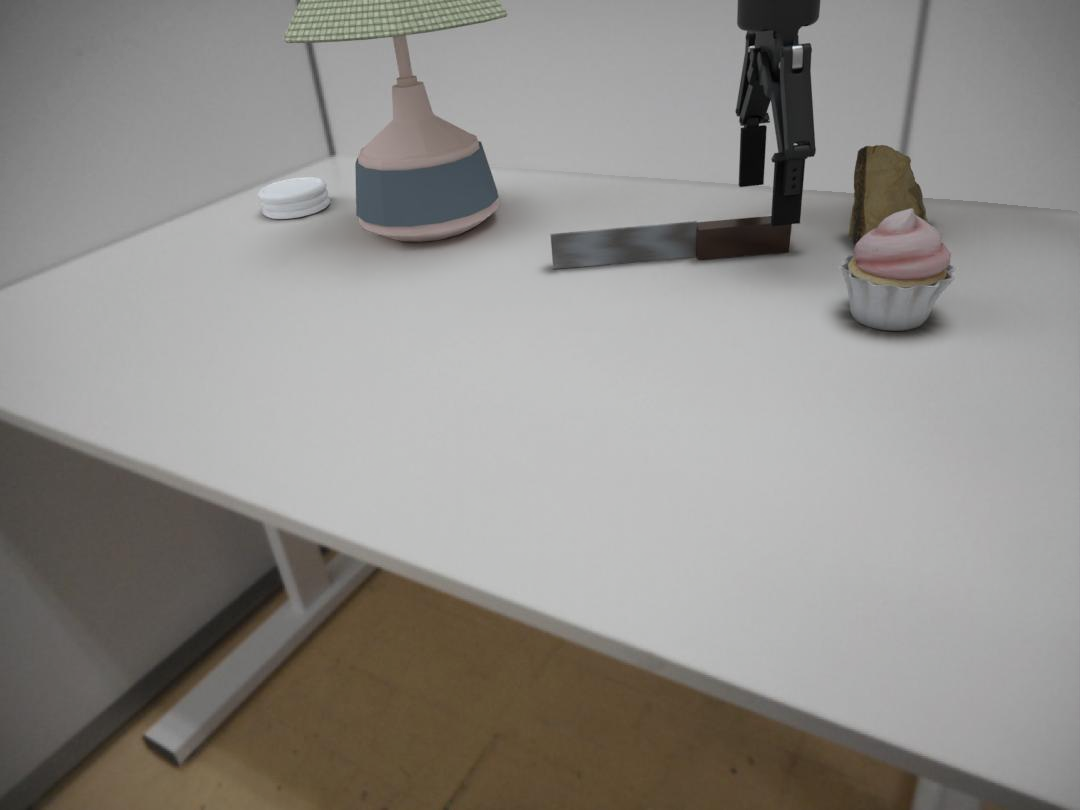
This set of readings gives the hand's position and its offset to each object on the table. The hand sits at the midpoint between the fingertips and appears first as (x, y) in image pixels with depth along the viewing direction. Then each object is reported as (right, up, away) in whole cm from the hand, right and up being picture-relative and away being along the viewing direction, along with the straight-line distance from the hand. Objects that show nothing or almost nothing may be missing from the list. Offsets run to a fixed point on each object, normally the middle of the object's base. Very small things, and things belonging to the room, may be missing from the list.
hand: (766, 203), depth 81 cm
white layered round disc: (-61, +7, +31) cm, 69 cm away
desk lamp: (-39, +2, +20) cm, 44 cm away
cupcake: (+7, -14, -13) cm, 21 cm away
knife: (-10, -5, +2) cm, 12 cm away
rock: (+15, -3, +3) cm, 15 cm away
